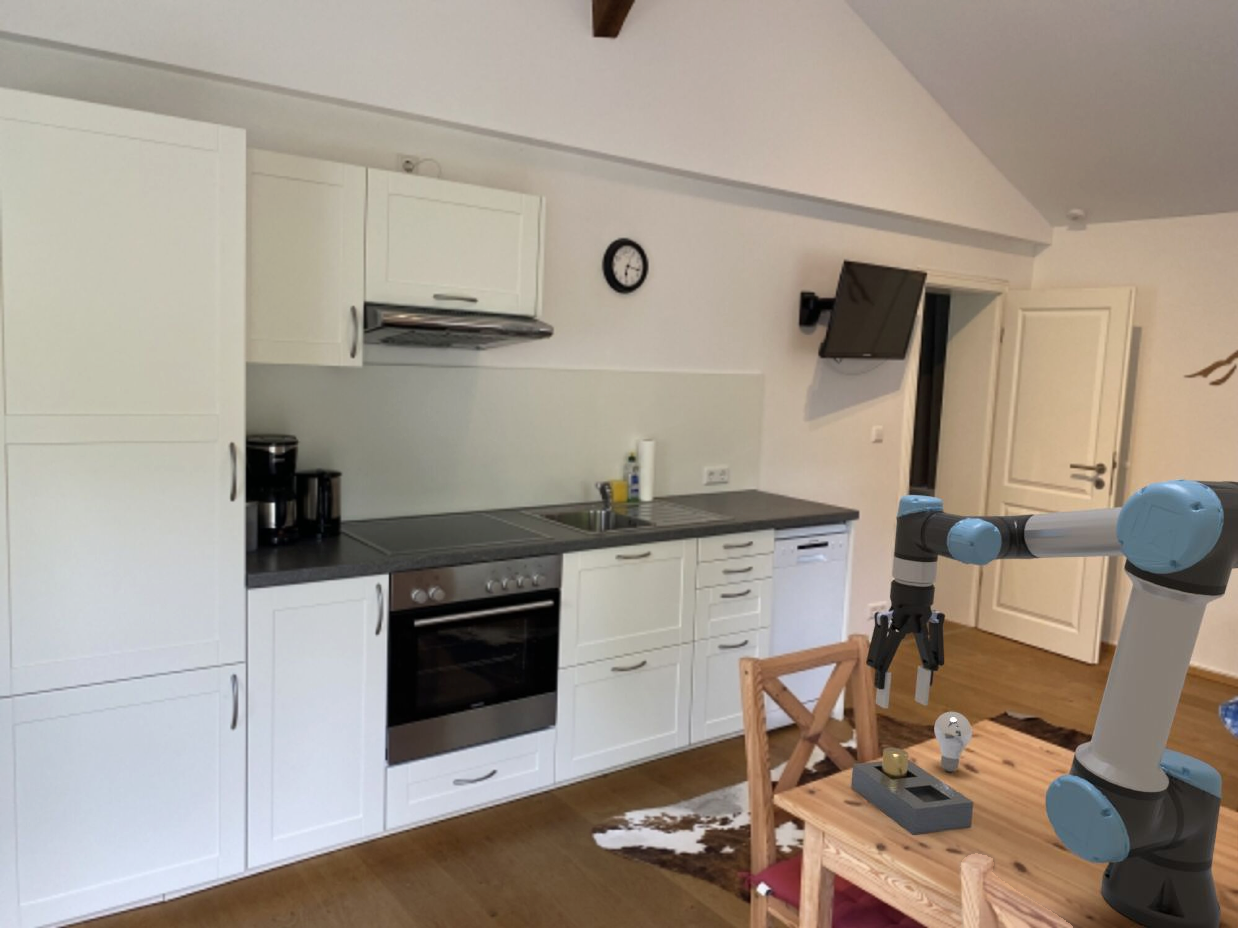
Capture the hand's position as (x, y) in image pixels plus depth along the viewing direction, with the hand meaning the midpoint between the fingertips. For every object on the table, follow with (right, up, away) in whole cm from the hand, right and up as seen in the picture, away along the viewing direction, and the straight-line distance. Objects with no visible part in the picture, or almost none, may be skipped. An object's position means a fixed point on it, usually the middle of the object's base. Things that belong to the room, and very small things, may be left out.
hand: (901, 704), depth 165 cm
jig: (0, -18, -3) cm, 18 cm away
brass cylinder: (-1, -17, +2) cm, 17 cm away
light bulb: (+14, -17, +14) cm, 26 cm away
